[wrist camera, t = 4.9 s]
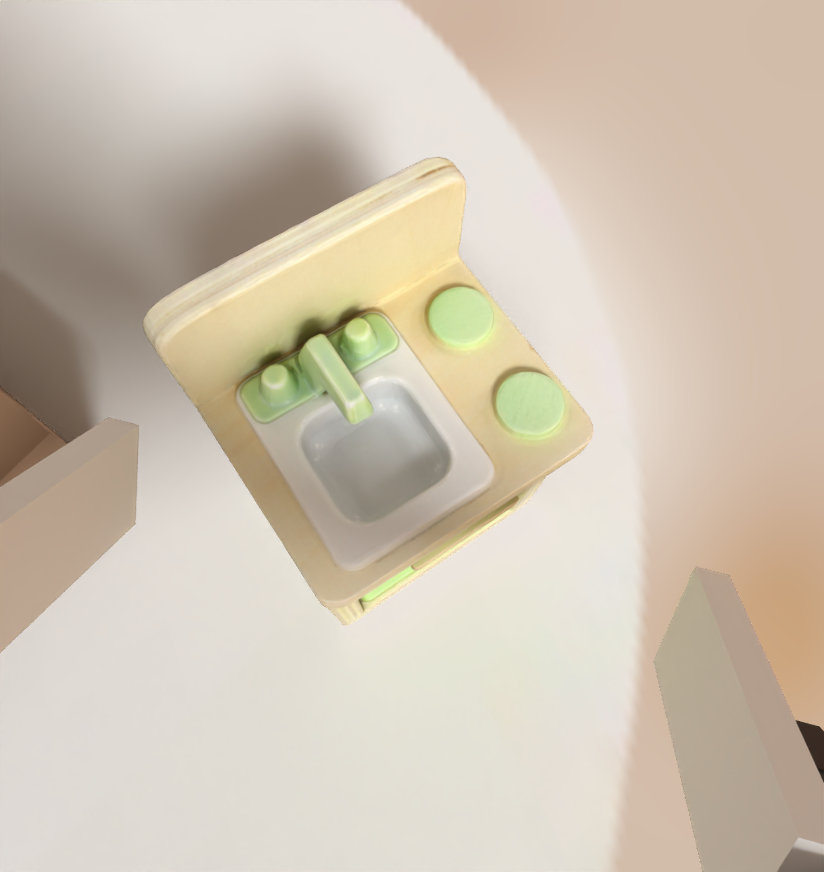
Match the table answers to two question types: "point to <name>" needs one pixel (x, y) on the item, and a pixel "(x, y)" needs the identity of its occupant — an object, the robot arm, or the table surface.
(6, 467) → the walnut block
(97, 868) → the table surface
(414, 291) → the toy sink
